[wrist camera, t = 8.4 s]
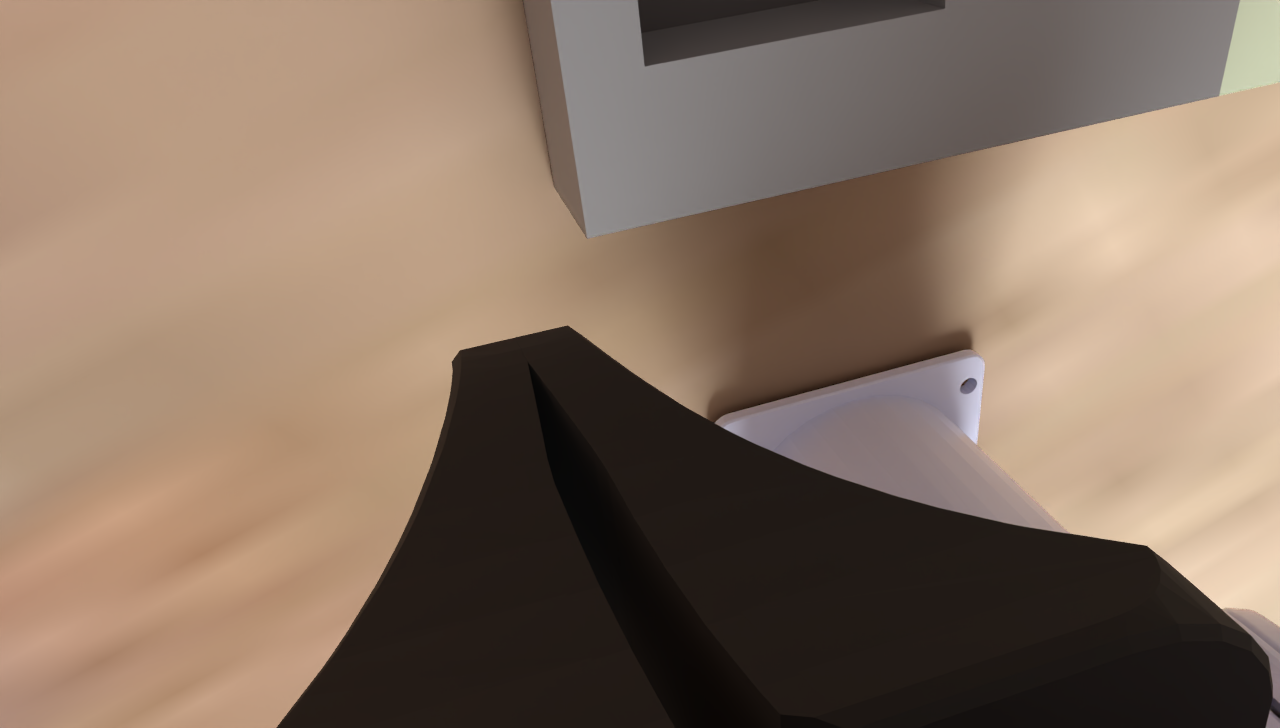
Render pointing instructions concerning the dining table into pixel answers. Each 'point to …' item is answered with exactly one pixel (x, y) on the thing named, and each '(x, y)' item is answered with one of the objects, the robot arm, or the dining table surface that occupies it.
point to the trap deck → (851, 87)
